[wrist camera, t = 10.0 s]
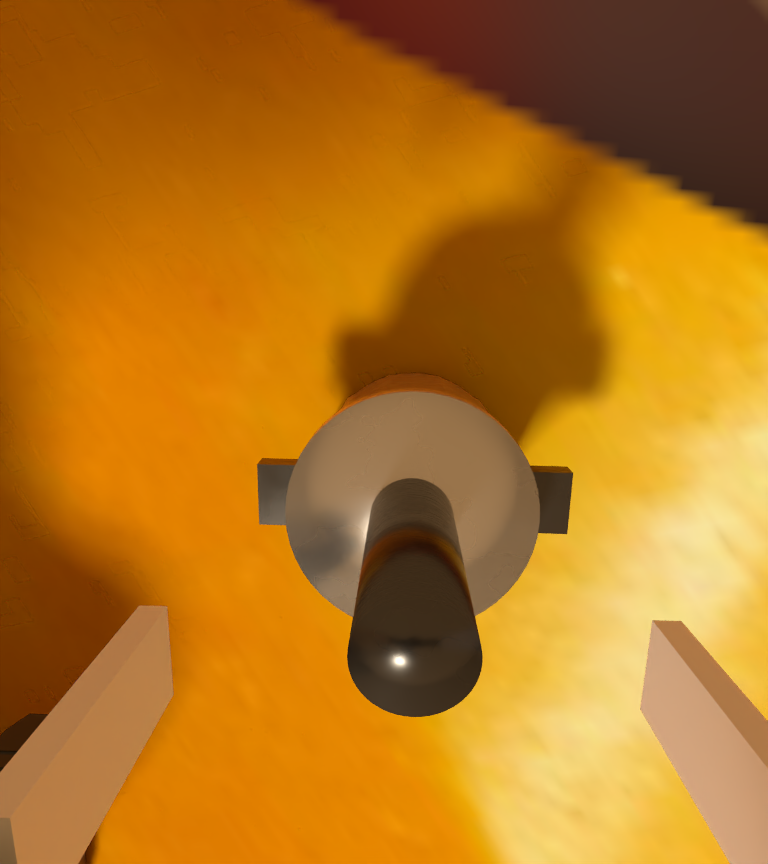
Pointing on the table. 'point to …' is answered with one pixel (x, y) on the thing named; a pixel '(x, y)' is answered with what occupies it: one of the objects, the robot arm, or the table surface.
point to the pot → (549, 479)
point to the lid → (413, 537)
